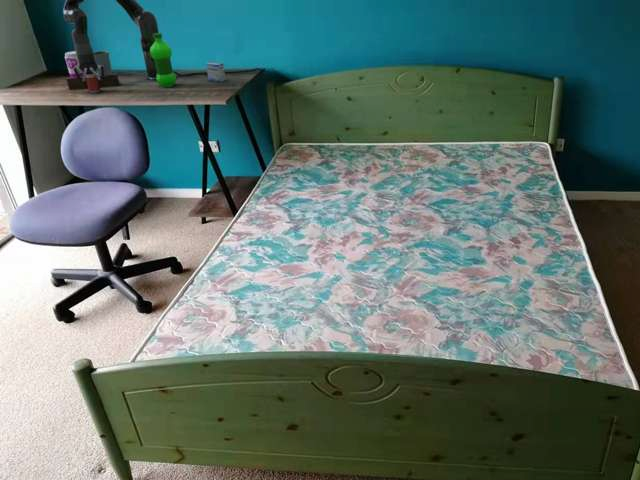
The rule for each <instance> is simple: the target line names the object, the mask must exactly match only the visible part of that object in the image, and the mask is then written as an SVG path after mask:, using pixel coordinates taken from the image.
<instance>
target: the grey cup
mask: <svg viewBox="0 0 640 480" xmlns="http://www.w3.org/2000/svg"><path fill="white" fill-rule="evenodd" d="M93 54H94V58H95V61H96V64H97V65H103V66H104V75H105V74H113V69H112V65H111V59H110V52H109V51H108V50H97V51H93ZM96 71H97V72H98V74H99V75H101V70H100V69H99V68H97V70H96Z"/></svg>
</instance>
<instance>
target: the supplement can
mask: <svg viewBox="0 0 640 480" xmlns="http://www.w3.org/2000/svg"><path fill="white" fill-rule="evenodd" d="M64 60H65V63H66V67H67V71H68V73H69V78H72V77H77V76H76V74H75V72H74V67H79V61H78V58H77V54H76V50H73V51H67V52H65V53H64ZM83 73H84V72H83V71H81V70H80V69H79V74H80V76H81V77H83Z"/></svg>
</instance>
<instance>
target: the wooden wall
mask: <svg viewBox="0 0 640 480" xmlns="http://www.w3.org/2000/svg"><path fill="white" fill-rule="evenodd" d="M100 76H101V75H100ZM82 78H83V77H82ZM65 79H66V82H67V86H68V89H69V91H72V90H83V89H86V88H85V87H84V84H83V81H81V80H78V78H77V77H72V78H71V77H66V78H65ZM101 81H102V84H103V85H102V88H105V87H115V86H116V87H117V86H120V83H121V82H120V80H119V77H118V73H117V72H116V73H112V74H105V75H104V78H103V79H101Z"/></svg>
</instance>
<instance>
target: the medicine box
mask: <svg viewBox="0 0 640 480" xmlns="http://www.w3.org/2000/svg"><path fill="white" fill-rule="evenodd" d="M205 66H206V72H207V73H208V74H207V79H208V81H209V82H216V83H217V82H218V83H223V82H225V81H227V80H226V73H225V72H226V71H225V66H224V63H223V62H222V63H221V62H212V61H211V62H207V63H206V65H205Z"/></svg>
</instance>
